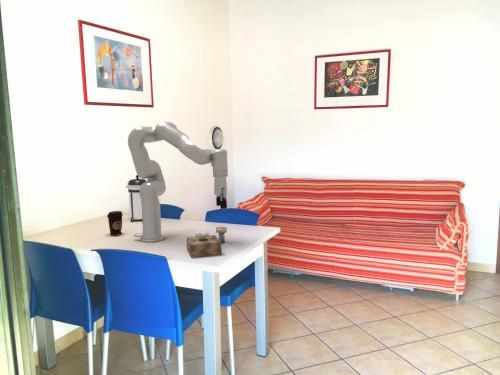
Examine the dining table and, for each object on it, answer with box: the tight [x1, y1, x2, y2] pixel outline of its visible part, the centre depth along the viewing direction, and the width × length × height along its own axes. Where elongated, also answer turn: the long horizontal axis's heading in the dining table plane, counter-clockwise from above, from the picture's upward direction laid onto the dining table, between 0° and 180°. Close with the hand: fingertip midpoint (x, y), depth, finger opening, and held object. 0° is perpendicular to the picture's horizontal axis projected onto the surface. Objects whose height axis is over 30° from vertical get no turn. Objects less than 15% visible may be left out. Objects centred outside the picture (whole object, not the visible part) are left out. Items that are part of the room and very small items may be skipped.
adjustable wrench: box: [195, 232, 210, 237], centre depth 216 cm, size 25×6×2 cm, turn 165°
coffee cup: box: [106, 210, 124, 237], centre depth 230 cm, size 9×8×13 cm
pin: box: [215, 226, 228, 244], centre depth 211 cm, size 6×6×8 cm
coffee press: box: [125, 174, 147, 223], centre depth 269 cm, size 17×16×30 cm
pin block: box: [186, 234, 222, 259], centre depth 193 cm, size 14×14×6 cm
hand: (221, 207), depth 209 cm, fingers open, 9 cm apart
